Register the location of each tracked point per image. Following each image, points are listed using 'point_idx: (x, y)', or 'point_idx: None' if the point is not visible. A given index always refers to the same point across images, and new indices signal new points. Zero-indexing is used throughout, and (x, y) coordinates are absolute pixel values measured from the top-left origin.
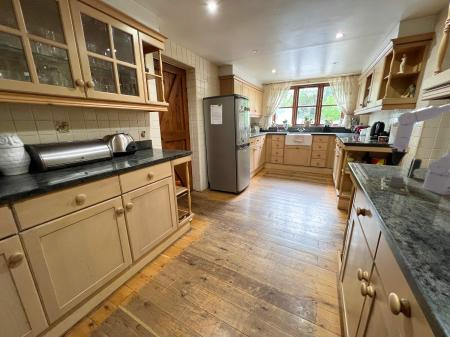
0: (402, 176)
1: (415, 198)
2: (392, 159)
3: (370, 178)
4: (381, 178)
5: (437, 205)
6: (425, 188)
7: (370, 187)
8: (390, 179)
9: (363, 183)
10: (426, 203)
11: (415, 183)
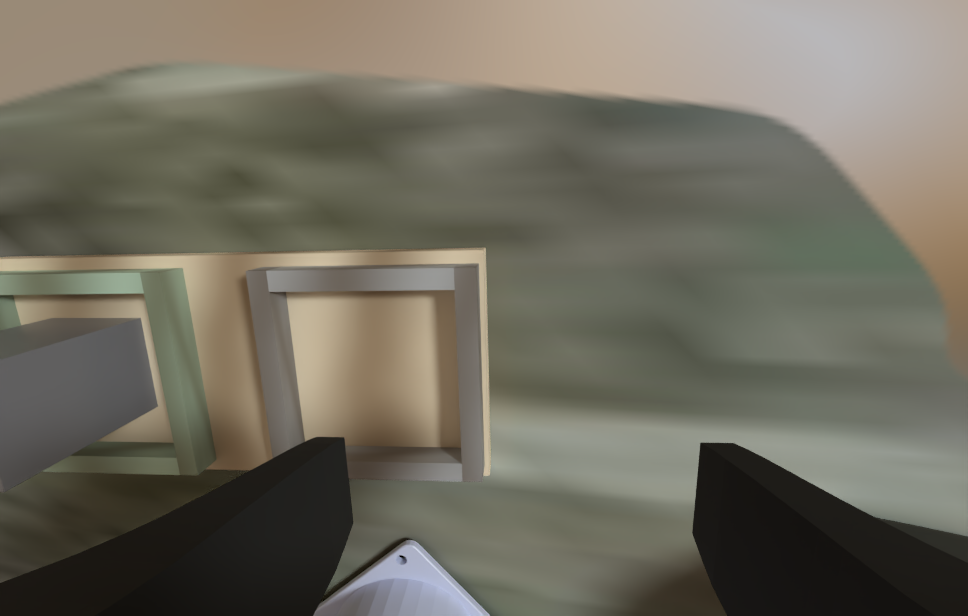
0: (3, 487)
1: (65, 489)
2: (735, 472)
3: (470, 126)
4: (475, 251)
5: None
6: (354, 602)
7: (40, 160)
8: (2, 346)
9: (131, 74)
10: (10, 535)
11: (629, 555)
